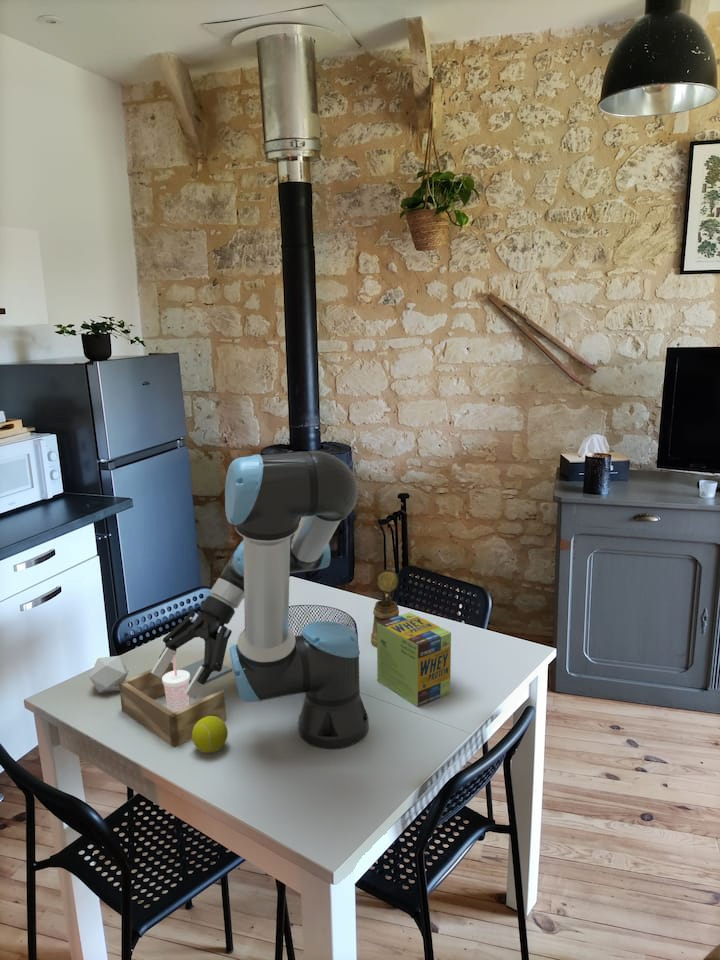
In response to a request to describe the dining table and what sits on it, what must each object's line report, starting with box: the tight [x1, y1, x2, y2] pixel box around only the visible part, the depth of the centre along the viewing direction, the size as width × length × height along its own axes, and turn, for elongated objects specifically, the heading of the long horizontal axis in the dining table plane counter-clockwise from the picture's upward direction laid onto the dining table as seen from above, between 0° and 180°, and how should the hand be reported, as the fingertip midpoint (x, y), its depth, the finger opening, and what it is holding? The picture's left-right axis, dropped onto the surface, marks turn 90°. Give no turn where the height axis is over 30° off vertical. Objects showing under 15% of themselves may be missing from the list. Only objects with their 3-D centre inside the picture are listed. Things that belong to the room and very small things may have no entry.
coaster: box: [178, 658, 233, 684], centre depth 175 cm, size 10×10×1 cm
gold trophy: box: [370, 568, 400, 648], centre depth 190 cm, size 9×14×18 cm, turn 173°
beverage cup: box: [162, 655, 190, 713], centre depth 155 cm, size 6×6×14 cm
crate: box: [119, 661, 227, 748], centre depth 155 cm, size 13×21×7 cm, turn 48°
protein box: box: [376, 612, 452, 708], centre depth 164 cm, size 10×15×16 cm
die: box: [89, 655, 129, 694], centre depth 167 cm, size 8×9×10 cm
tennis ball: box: [191, 716, 229, 754], centre depth 142 cm, size 7×7×7 cm
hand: (171, 685), depth 155 cm, fingers open, 13 cm apart
